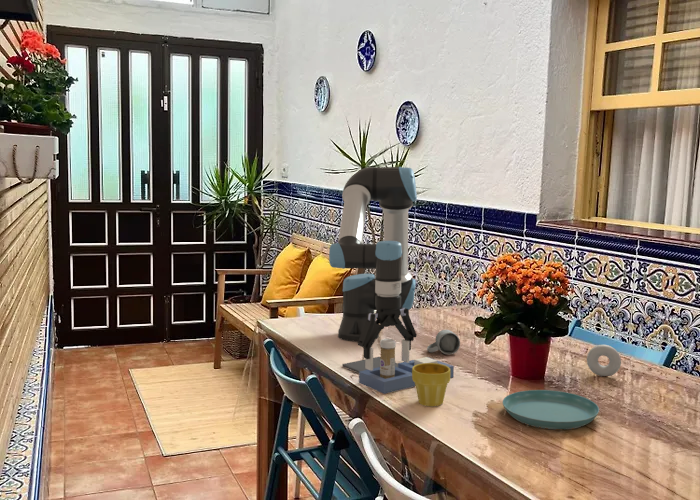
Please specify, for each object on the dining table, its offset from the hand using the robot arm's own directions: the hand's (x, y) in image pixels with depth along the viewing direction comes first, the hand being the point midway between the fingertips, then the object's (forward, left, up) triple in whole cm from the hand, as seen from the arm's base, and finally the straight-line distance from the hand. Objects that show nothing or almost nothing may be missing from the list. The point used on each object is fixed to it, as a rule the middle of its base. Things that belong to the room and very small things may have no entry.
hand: (387, 365), depth 209 cm
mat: (-15, +7, -6) cm, 18 cm away
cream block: (0, +15, -6) cm, 16 cm away
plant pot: (+19, 0, -6) cm, 20 cm away
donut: (+32, +59, -6) cm, 67 cm away
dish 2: (0, +15, -6) cm, 16 cm away
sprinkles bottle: (0, 0, -6) cm, 6 cm away
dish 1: (0, 0, -6) cm, 6 cm away
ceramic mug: (-17, +38, -6) cm, 42 cm away
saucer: (+44, +19, -6) cm, 48 cm away
